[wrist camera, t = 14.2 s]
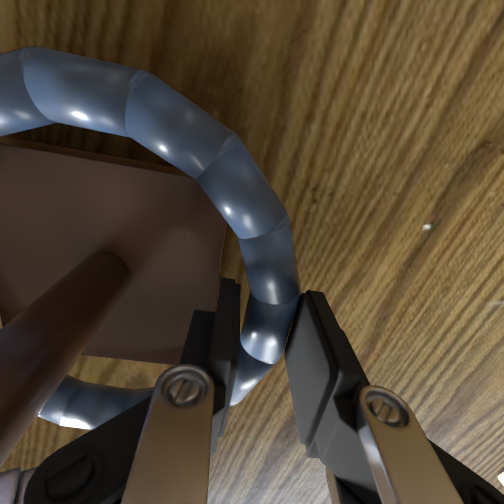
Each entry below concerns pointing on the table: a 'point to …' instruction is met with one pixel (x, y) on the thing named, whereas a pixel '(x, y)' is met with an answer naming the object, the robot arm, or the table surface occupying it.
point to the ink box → (501, 478)
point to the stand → (94, 267)
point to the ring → (187, 160)
